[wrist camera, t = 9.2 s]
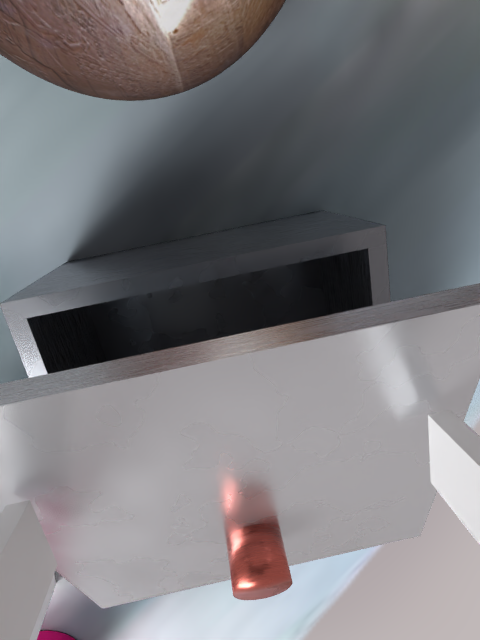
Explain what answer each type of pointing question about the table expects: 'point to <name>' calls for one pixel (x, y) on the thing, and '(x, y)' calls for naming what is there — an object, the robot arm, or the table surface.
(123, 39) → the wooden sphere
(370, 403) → the lid
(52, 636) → the pepper mill
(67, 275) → the gray box
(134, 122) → the table surface
